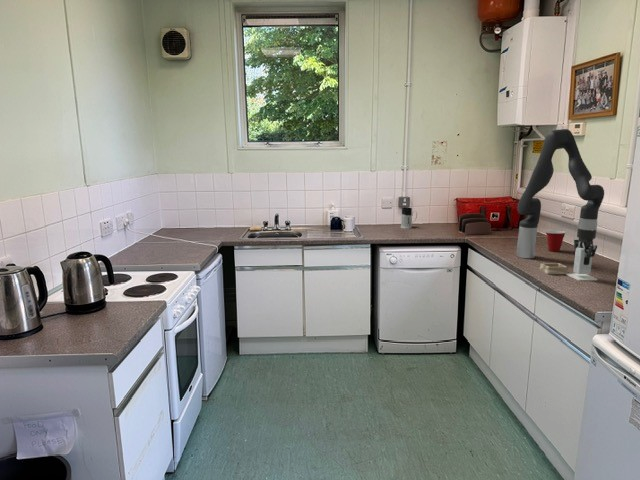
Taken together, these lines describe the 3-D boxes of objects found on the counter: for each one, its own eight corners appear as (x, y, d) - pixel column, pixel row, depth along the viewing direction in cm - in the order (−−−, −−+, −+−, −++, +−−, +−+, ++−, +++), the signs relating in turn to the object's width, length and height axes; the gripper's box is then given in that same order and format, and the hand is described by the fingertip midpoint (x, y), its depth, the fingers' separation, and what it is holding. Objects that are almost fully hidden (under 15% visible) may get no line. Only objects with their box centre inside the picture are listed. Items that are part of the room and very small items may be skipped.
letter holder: (458, 232, 321) (459, 213, 318) (482, 231, 325) (484, 212, 322) (465, 235, 312) (466, 215, 309) (490, 234, 315) (491, 214, 312)
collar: (539, 270, 223) (540, 263, 222) (558, 269, 223) (558, 263, 222) (547, 274, 215) (548, 267, 215) (567, 273, 216) (567, 267, 215)
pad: (565, 274, 214) (566, 273, 214) (583, 274, 215) (583, 273, 215) (578, 280, 205) (578, 279, 205) (597, 280, 205) (597, 279, 205)
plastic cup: (552, 248, 270) (554, 228, 268) (568, 251, 260) (570, 231, 258) (539, 249, 266) (541, 230, 264) (554, 253, 257) (556, 233, 254)
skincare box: (584, 271, 212) (587, 247, 210) (590, 274, 208) (594, 249, 205) (572, 272, 211) (575, 247, 209) (578, 274, 207) (581, 249, 205)
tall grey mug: (405, 225, 348) (406, 207, 345) (419, 228, 338) (420, 208, 335) (398, 227, 343) (398, 208, 340) (412, 229, 332) (413, 210, 329)
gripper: (570, 225, 212) (566, 259, 215) (589, 231, 198) (584, 267, 201) (585, 225, 212) (581, 259, 216) (605, 230, 198) (600, 267, 202)
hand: (582, 263), depth 208 cm, fingers closed on skincare box, 4 cm apart
